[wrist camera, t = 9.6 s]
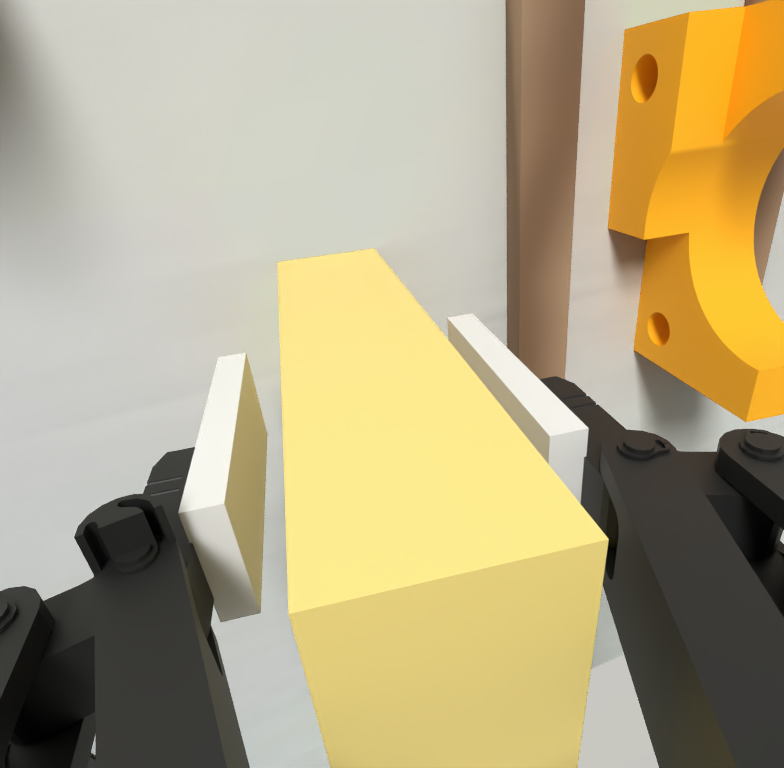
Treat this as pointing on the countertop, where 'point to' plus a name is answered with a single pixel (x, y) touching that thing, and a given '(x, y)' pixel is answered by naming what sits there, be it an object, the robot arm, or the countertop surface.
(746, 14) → the pipe clamp
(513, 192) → the channel
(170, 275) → the countertop surface
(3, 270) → the countertop surface
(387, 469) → the yellow rectangular block
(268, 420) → the countertop surface
